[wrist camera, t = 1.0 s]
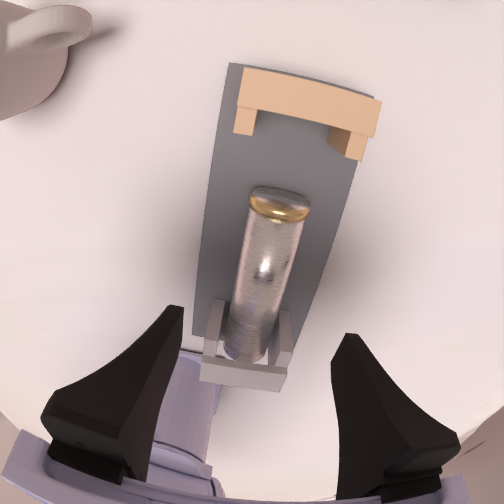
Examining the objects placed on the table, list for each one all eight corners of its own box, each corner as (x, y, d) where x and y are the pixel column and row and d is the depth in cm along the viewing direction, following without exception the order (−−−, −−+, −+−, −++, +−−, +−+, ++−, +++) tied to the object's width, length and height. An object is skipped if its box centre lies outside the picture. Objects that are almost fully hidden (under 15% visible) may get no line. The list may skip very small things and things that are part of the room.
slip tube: (267, 334, 23) (266, 367, 20) (224, 327, 22) (219, 360, 20) (307, 194, 17) (315, 215, 15) (251, 183, 17) (248, 202, 14)
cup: (122, -23, 11) (48, -64, 4) (128, 89, 15) (44, 97, 8) (2, 35, 12) (-77, 40, 5) (8, 129, 16) (-71, 160, 9)
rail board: (292, 345, 24) (295, 397, 20) (193, 329, 24) (179, 380, 19) (370, 96, 15) (409, 100, 10) (230, 63, 14) (215, 51, 10)
